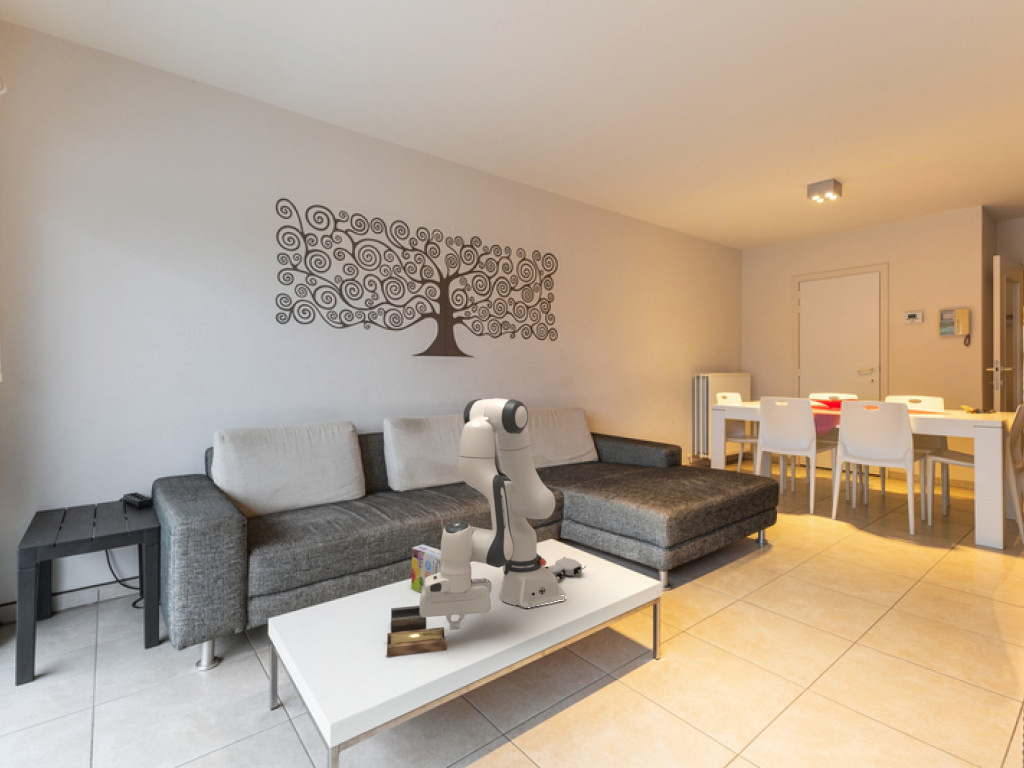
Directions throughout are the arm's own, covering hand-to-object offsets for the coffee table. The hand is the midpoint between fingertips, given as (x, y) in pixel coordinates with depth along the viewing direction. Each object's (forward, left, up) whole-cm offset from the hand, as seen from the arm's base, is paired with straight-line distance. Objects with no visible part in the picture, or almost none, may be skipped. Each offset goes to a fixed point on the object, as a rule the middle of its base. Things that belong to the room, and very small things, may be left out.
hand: (454, 628), depth 144 cm
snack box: (+3, -32, -4) cm, 33 cm away
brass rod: (+11, 0, -4) cm, 11 cm away
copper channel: (+11, 0, -4) cm, 11 cm away
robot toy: (-45, -39, -4) cm, 60 cm away
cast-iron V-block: (+13, -10, -4) cm, 17 cm away
